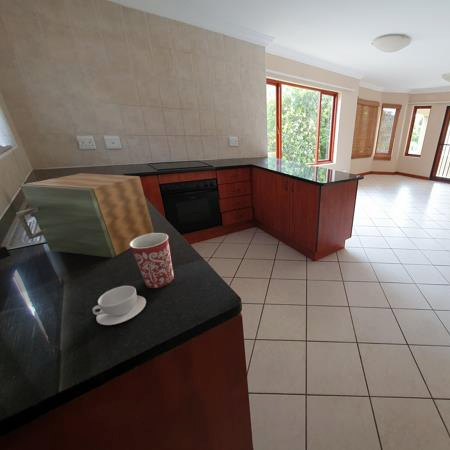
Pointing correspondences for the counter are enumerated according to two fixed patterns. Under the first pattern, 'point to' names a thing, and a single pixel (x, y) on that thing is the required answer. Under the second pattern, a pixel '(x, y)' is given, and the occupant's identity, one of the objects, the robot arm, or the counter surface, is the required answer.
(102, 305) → the teacup
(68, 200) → the door
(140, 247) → the mug
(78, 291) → the counter surface
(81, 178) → the cupboard
